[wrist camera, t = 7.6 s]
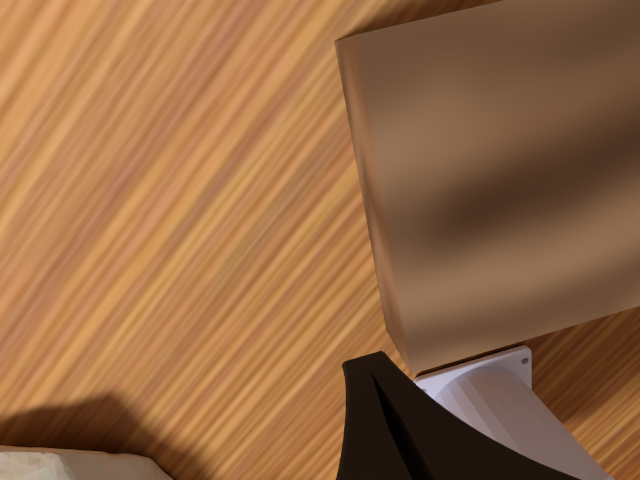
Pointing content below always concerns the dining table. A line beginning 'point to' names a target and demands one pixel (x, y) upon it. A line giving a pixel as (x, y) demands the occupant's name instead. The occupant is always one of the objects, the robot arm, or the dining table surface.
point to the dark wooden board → (499, 170)
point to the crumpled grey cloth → (74, 465)
